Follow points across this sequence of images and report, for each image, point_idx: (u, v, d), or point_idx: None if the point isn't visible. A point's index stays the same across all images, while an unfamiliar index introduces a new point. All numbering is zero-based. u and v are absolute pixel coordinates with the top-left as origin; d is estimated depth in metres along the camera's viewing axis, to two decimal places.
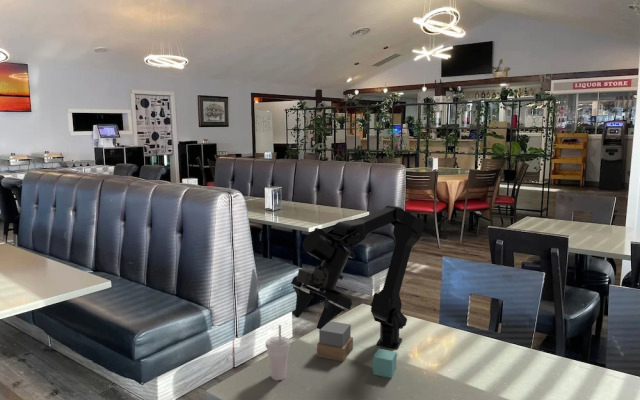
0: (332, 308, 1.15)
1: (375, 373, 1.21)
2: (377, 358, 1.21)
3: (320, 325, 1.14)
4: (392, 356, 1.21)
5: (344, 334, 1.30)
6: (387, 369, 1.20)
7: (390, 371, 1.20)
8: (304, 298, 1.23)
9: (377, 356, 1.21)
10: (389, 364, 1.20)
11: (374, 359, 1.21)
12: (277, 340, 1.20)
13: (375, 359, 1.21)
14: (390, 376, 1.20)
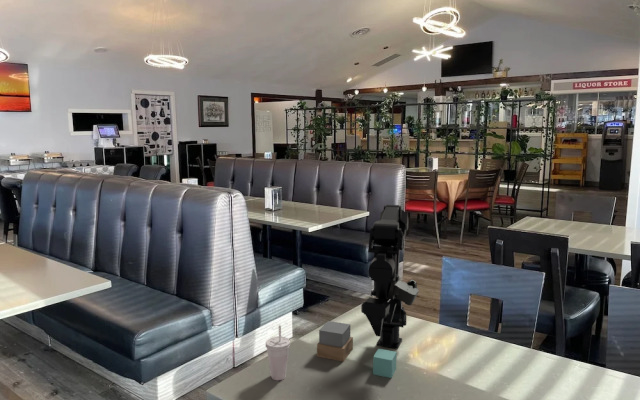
0: None
1: (375, 373, 1.21)
2: (377, 358, 1.21)
3: None
4: (392, 356, 1.21)
5: (344, 334, 1.30)
6: (387, 369, 1.20)
7: (390, 371, 1.20)
8: None
9: (377, 356, 1.21)
10: (389, 364, 1.20)
11: (374, 359, 1.21)
12: (277, 340, 1.20)
13: (375, 359, 1.21)
14: (390, 376, 1.20)
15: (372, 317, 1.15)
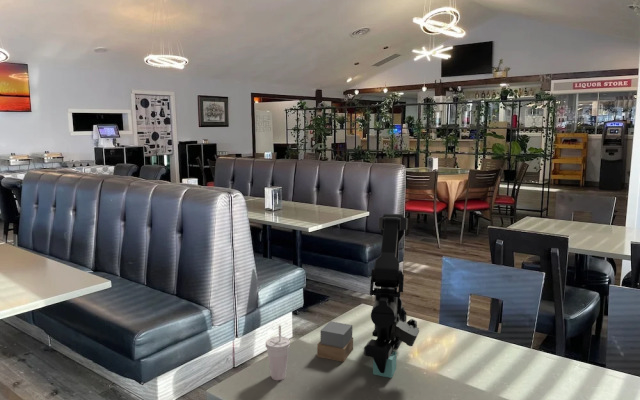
0: None
1: (375, 373, 1.21)
2: None
3: None
4: (392, 356, 1.21)
5: (345, 334, 1.29)
6: (387, 369, 1.20)
7: (390, 371, 1.20)
8: None
9: None
10: (389, 364, 1.20)
11: None
12: (277, 340, 1.20)
13: None
14: (390, 375, 1.20)
15: None
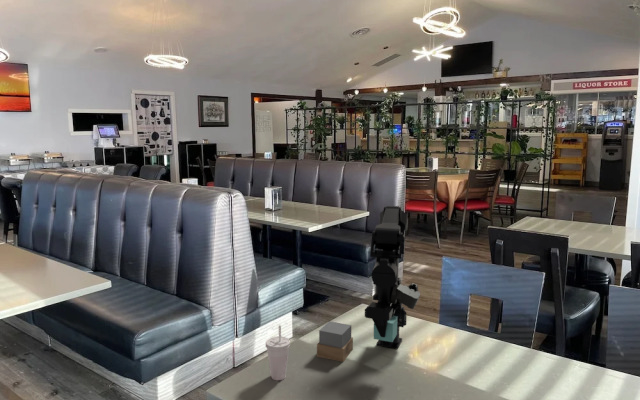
0: None
1: (376, 337, 1.20)
2: None
3: None
4: (393, 320, 1.20)
5: (344, 334, 1.29)
6: (387, 333, 1.19)
7: (391, 335, 1.18)
8: None
9: None
10: (390, 328, 1.18)
11: None
12: (277, 340, 1.20)
13: None
14: (391, 339, 1.18)
15: None
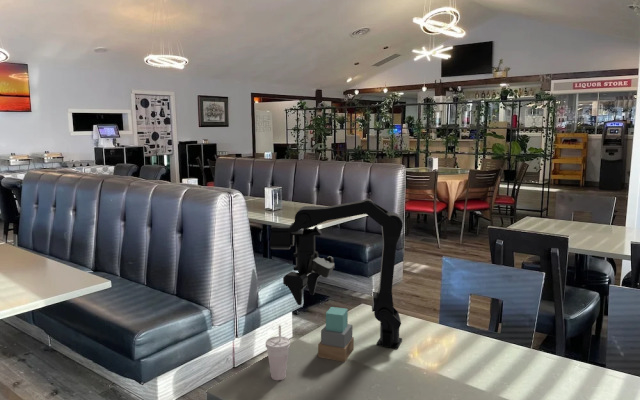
0: None
1: (328, 328, 1.30)
2: (329, 314, 1.30)
3: None
4: (343, 312, 1.31)
5: (346, 334, 1.29)
6: (338, 324, 1.29)
7: (341, 325, 1.29)
8: None
9: (329, 312, 1.30)
10: (340, 319, 1.29)
11: (326, 315, 1.30)
12: (277, 340, 1.20)
13: (327, 315, 1.30)
14: (341, 330, 1.29)
15: (293, 288, 1.34)
